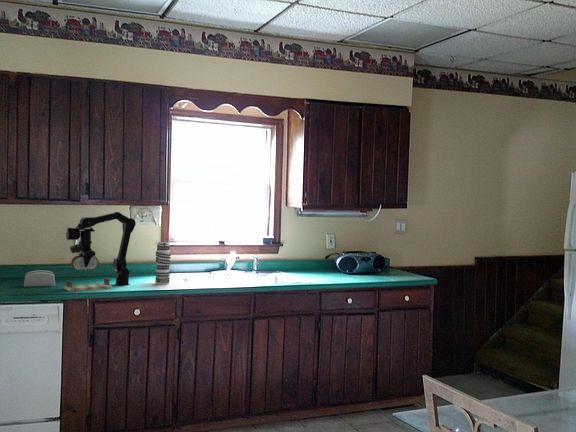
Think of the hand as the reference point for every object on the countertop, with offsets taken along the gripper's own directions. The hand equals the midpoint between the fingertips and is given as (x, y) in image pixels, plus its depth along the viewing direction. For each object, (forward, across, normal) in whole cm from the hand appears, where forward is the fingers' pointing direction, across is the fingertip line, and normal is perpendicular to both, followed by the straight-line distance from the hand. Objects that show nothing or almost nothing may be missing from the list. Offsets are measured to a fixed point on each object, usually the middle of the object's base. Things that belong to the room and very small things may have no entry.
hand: (85, 266), depth 356 cm
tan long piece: (+12, +6, 0) cm, 13 cm away
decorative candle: (+12, +4, +45) cm, 47 cm away
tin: (+2, 0, 0) cm, 2 cm away
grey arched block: (+12, -13, -22) cm, 28 cm away
